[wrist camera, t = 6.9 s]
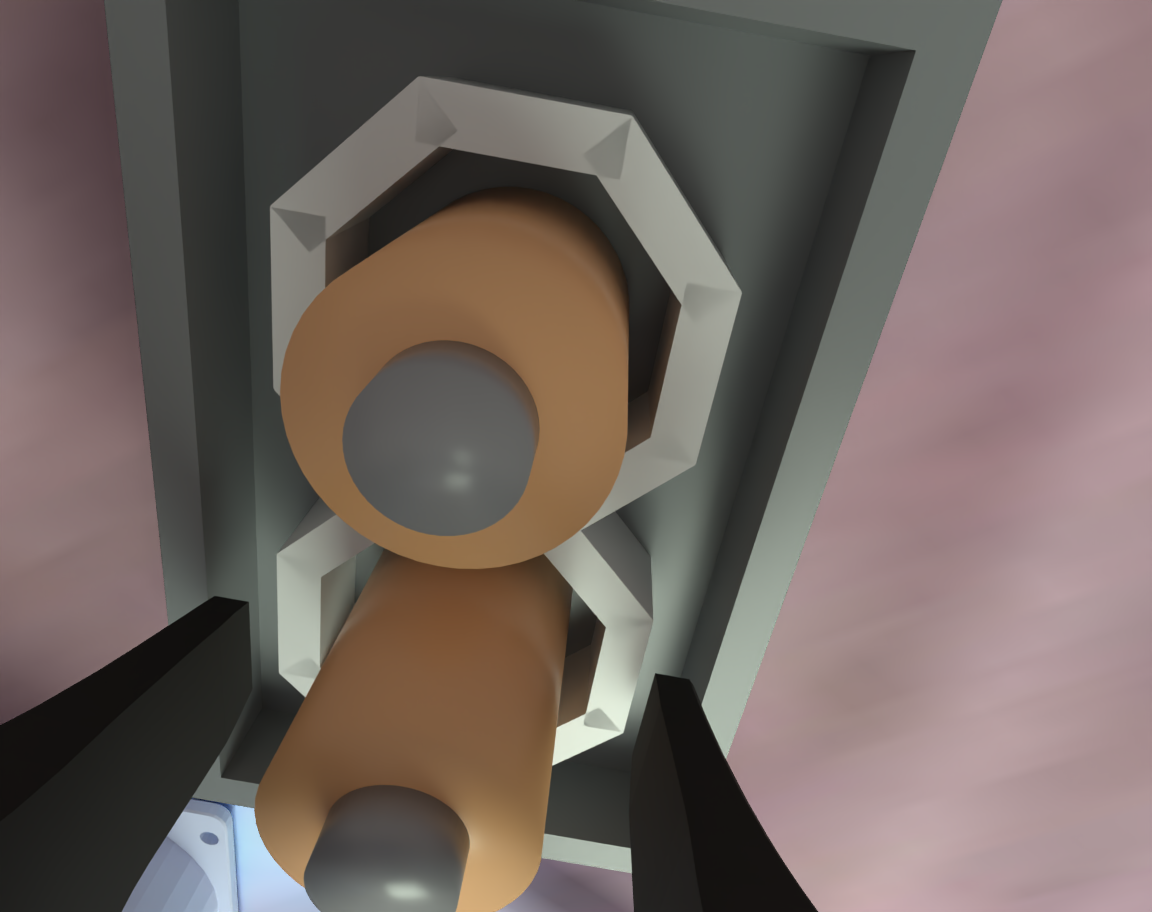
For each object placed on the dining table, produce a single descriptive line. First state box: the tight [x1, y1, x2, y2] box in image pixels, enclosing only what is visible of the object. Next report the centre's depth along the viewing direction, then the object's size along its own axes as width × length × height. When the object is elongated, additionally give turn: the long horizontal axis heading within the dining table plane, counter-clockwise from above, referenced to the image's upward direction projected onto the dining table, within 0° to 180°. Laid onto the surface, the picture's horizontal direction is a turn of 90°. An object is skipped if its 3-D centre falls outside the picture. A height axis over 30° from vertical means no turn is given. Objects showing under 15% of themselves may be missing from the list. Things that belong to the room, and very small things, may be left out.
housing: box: [104, 0, 1002, 873], centre depth 12 cm, size 17×11×7 cm, turn 171°
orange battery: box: [254, 549, 573, 912], centre depth 13 cm, size 4×4×7 cm
